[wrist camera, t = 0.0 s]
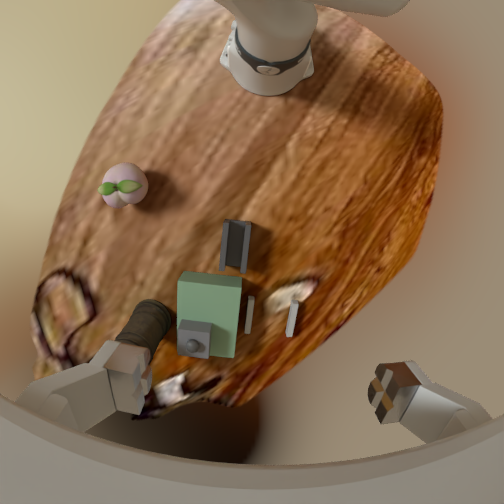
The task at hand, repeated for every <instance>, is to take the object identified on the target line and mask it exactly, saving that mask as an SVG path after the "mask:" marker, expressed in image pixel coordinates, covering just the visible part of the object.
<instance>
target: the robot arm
mask: <svg viewBox="0 0 504 504" xmlns="http://www.w3.org/2000/svg"><path fill="white" fill-rule="evenodd" d="M214 1H216V2H218V3H219V4H221V5H222V6H224V7H225V8H226V9H227V10H229V11H230V12H231V13H232V14H233V15H234V16H235V19H236V20H234V21H233V23H232V26H231V29H232V32H231V34H230V36H229V39H228V41H227V43H226V46H225V48H224V50H223V53H222V55H221V57H220V64H221V65H222V66H223V67H225V68H226V69H228V70H229V71H230V72H231V73H232V75H233V76H234V78H235V80H236V81H237V82H238V83H239V84H240V85H241V86H242V87H243V88H245V89H246V90H248V91H250V92H252V93H255V94H258V95H264V96H273V95H279V94H282V93H285V92H287V91H289V90H290V89H292V88H293V87H294V86H295V85H296V84H297V83H298V82H299V81H301V80H302V79H305V78H308V77H310V76H312V75H313V73H314V66H313V60H312V53H311V47H310V38H311V36H312V34H313V32H314V30H315V28H316V25H317V21H318V15H317V11H316V8H315V6H314V4H317V5H322V6H326V7H330V8H334V9H338V10H342V11H346V12H354V13H361V14H368V15H374V16H380V17H388V16H390V15H393V14H395V13H397V12H399V11H400V10H401V9H403V8H404V7H405V6H406V5H407V3H408V2H409V1H410V0H214ZM226 55H228V57H226ZM150 359H151V358H150V350H149V349H148V348H145V347H140V346H136V345H131V344H127V343H121V342H118V341H113V340H107V341H106V342H105V343H104V345H103V346H102V347H101V348H100V350H99V351H98V352H97V354H96V355H95V356H94V358H93V359H92V360H91V361H90V363H89V364H87V363H84V364H81V365H78V366H76V367H73V368H70V369H67V370H65V371H62V372H59V373H56V374H53V375H51V376H48V377H45V378H42V379H39V380H36V381H33V382H31V383H30V384H29V385H28V387H27V388H26V389H25V390H24V391H23V392H22V393H21V395H20V396H19V397H18V398H17V399H16V401H15V402H14V401H12V400H10V399H9V398H7V397H5V396H3V395H2V394H0V504H504V414H503V415H501V416H499V417H497V418H495V419H492V417H490V415H489V414H488V413H487V412H486V410H485V409H484V408H483V407H482V406H481V405H480V403H478V402H476V401H474V400H471V399H469V398H467V397H465V396H463V395H461V394H458V393H456V392H454V391H452V390H450V389H448V388H446V387H443V386H441V385H439V384H437V383H432V382H431V380H430V379H429V378H428V377H427V375H426V374H425V373H424V372H423V371H422V369H421V368H420V367H419V366H418V365H417V363H416V362H414V361H404V362H396V363H382V364H379V365H378V366H377V368H376V371H375V375H376V378H374V379H373V380H372V381H371V383H370V385H369V388H368V399H369V402H370V404H371V405H372V406H374V407H375V408H376V411H375V414H376V416H377V418H378V420H379V422H380V424H388V423H395V422H400V424H402V425H403V426H404V427H406V428H407V429H408V430H410V431H411V432H412V433H413V434H415V435H416V436H417V437H419V438H420V439H421V440H422V441H424V442H425V443H426V444H424V445H421V446H417V447H413V448H409V449H405V450H401V451H397V452H393V453H388V454H383V455H378V456H372V457H367V458H360V459H353V460H347V461H338V462H328V463H318V464H300V465H247V464H230V463H219V462H208V461H201V460H193V459H186V458H180V457H174V456H169V455H163V454H159V453H154V452H149V451H145V450H141V449H136V448H132V447H129V446H125V445H121V444H118V443H114V442H111V441H108V440H104V439H101V438H98V437H95V436H92V435H89V434H86V433H84V432H85V431H87V430H88V429H90V428H91V427H92V426H94V425H95V424H97V423H99V422H100V421H101V420H103V419H105V418H106V417H108V416H109V415H111V414H112V413H114V412H115V411H116V410H120V411H124V412H128V413H133V414H138V415H140V412H141V410H142V407H143V405H144V402H145V401H144V395H146V394H148V392H149V390H150V386H151V381H152V370H151V367H150V366H149V365H148V363H149V361H150Z"/></svg>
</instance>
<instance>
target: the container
mask: <svg viewBox="0 0 504 504" xmlns="http://www.w3.org/2000/svg"><path fill="white" fill-rule="evenodd" d="M170 326H171V317H170V314H169V312H168V310H167V309H166V308H165V307H164V306H163V305H162V304H161V303H159V302H157V301H155V300H151V299H147V300H143V301H141V302H140V303H139V304H137V306H136V307H135V309H134V311H133V314H132V316H131V317H130V319H129V321H128V323H127V324H126V326H125V327H124V328H123V329H122V331H121V332H120V334H119V335H118V336H117V337H116V339H115V340H114V341H118V342H121V343H127V344H131V345H136V346H140V347H145V348H148V349H149V350H150V358H151V359H150V361H149V363H148V365H149V364H150V362H151V361H152V359H153V355H154V353H155V351H156V349H157V347H158V345H159V343H160V341H161V340H162V339H163V336H164V335H165V334H166V333H167V331H168V330H169V328H170Z"/></svg>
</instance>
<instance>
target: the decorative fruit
mask: <svg viewBox="0 0 504 504" xmlns="http://www.w3.org/2000/svg"><path fill="white" fill-rule="evenodd" d="M147 191H148V181H147V178H146V176H145V174H144V173H143V171H142V170H141V169H140V168H139V167H138V166H136V165H135V164H132V163H121V164H118V165H115V166H113V167H112V168H110V169H109V170H108V171H107V173H106V174H105V176H104V178H103V182H102V185H100V187H99V188H98V192H99V193H100V194H101V195H103V198H104V200H105V202H106V203H107V204H108V205H109V206H111V207H113V208H122V207H124V206H126V205H128V204H136V203H138V202H140V201H141V200H142V199H143V198H144V197H145V195H146V193H147Z"/></svg>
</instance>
